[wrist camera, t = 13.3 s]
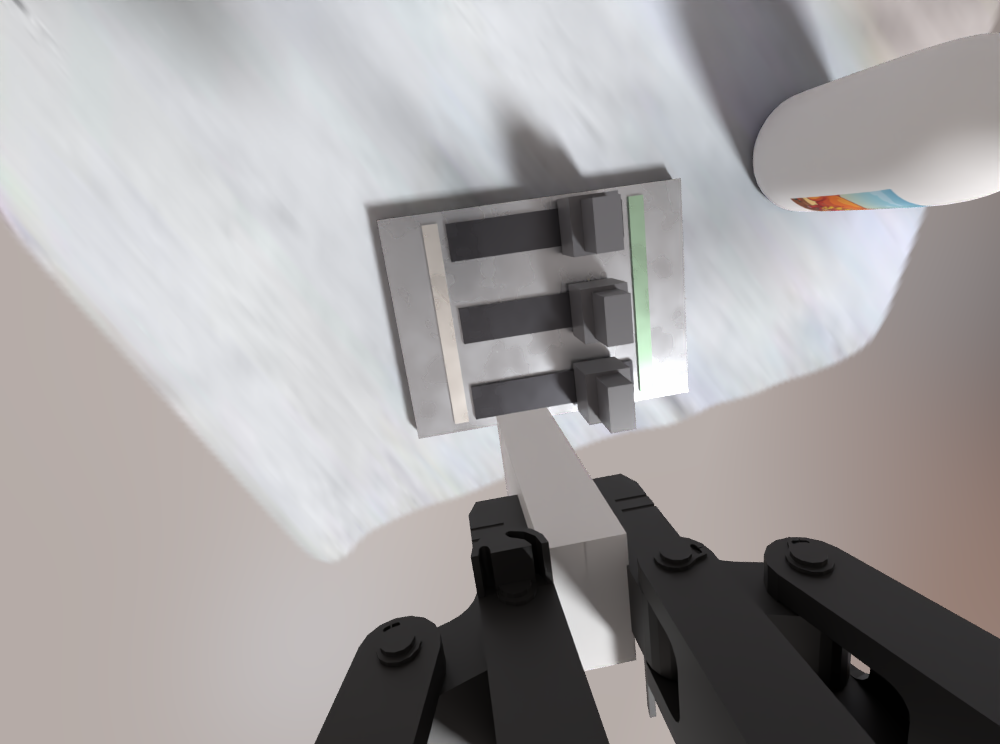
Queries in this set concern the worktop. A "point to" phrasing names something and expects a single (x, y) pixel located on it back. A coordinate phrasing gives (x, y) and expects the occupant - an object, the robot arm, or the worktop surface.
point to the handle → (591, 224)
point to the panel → (528, 305)
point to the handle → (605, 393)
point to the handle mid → (602, 312)
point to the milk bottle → (889, 134)
